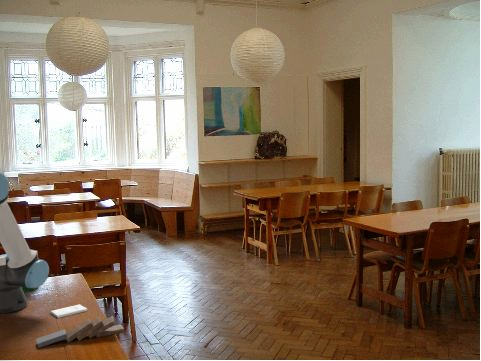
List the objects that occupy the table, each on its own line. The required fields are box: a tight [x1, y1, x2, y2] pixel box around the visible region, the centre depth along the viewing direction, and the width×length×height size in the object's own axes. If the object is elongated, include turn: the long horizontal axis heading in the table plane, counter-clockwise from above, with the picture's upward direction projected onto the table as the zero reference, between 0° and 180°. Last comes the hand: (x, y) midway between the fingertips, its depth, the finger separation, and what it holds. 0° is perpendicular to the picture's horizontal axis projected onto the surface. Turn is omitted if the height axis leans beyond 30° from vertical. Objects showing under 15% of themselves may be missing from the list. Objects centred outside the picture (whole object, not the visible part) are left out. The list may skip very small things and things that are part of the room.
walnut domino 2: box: [76, 316, 103, 342], centre depth 191 cm, size 2×5×10 cm
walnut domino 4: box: [95, 323, 125, 338], centre depth 195 cm, size 2×5×10 cm
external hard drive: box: [50, 303, 88, 319], centre depth 219 cm, size 2×8×12 cm
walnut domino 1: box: [65, 317, 93, 343], centre depth 190 cm, size 2×5×10 cm
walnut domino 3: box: [87, 315, 116, 339], centre depth 192 cm, size 2×5×10 cm
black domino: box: [35, 328, 68, 349], centre depth 186 cm, size 2×5×10 cm
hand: (5, 260), depth 184 cm, fingers closed
